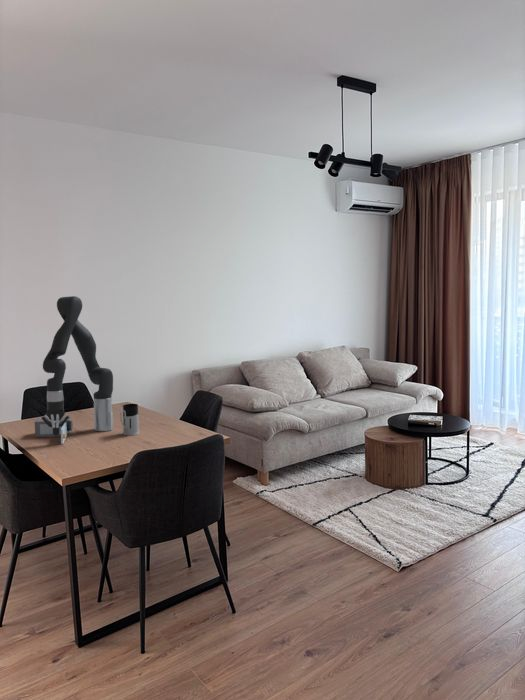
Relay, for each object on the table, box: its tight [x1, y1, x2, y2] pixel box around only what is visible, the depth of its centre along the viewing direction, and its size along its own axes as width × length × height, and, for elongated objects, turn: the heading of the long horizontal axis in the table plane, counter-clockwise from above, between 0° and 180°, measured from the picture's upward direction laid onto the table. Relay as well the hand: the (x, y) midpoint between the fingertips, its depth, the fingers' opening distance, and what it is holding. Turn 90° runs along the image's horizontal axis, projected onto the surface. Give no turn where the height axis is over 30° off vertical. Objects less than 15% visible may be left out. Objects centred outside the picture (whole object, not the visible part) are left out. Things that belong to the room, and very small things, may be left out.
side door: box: [60, 422, 68, 445], centre depth 271 cm, size 16×2×7 cm, turn 13°
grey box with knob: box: [34, 416, 74, 438], centre depth 283 cm, size 17×10×9 cm, turn 96°
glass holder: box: [119, 403, 140, 437], centre depth 281 cm, size 9×14×15 cm, turn 164°
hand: (56, 435), depth 265 cm, fingers closed
